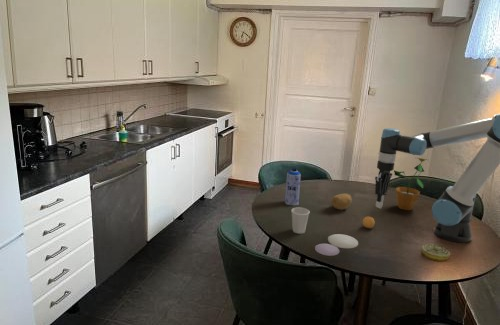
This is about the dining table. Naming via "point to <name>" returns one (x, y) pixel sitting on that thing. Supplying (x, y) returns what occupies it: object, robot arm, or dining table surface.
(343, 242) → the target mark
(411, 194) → the potted plant
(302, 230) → the dixie cup
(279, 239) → the dining table surface
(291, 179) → the aerosol can
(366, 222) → the ball
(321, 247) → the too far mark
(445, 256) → the decorated donut
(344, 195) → the potato
